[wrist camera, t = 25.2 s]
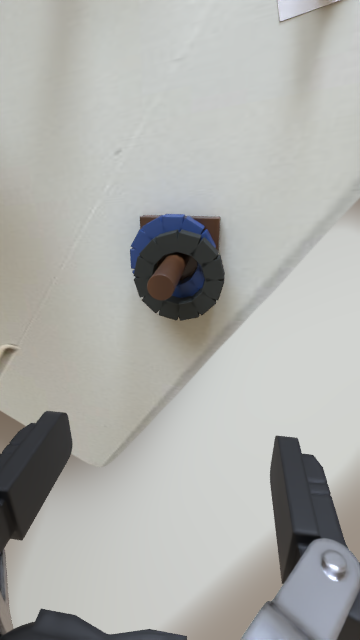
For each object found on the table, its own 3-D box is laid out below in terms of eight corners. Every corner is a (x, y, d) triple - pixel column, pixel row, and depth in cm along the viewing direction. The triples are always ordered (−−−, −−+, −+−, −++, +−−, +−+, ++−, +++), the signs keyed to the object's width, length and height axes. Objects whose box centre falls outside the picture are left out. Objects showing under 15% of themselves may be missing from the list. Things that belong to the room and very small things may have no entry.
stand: (146, 288, 43) (114, 330, 32) (142, 215, 39) (106, 233, 28) (216, 291, 42) (210, 337, 30) (220, 216, 38) (214, 237, 27)
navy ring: (136, 293, 42) (132, 298, 40) (133, 212, 38) (128, 215, 36) (214, 298, 40) (213, 304, 39) (218, 215, 36) (217, 217, 35)
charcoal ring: (132, 299, 40) (127, 306, 38) (148, 219, 36) (144, 222, 34) (209, 322, 40) (208, 329, 38) (235, 244, 36) (235, 248, 34)
